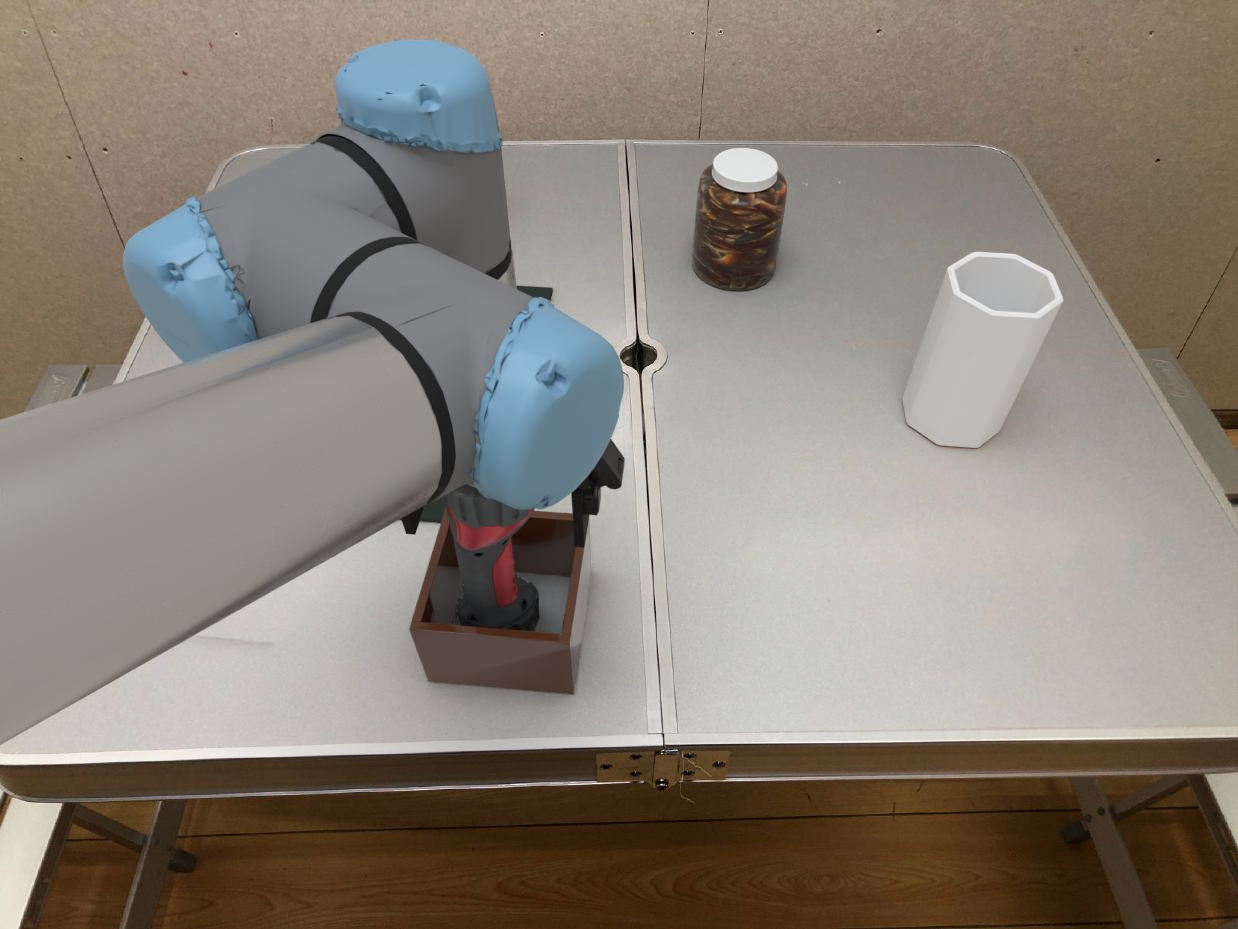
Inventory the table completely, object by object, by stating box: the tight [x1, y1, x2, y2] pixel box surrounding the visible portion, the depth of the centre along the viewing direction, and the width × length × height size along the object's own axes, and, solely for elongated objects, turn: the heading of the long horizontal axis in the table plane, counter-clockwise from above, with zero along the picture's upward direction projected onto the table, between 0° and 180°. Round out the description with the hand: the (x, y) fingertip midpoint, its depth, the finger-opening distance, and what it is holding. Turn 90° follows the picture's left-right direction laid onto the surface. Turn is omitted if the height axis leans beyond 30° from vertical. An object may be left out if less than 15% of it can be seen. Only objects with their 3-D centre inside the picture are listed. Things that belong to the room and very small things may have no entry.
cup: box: [901, 251, 1064, 449], centre depth 89 cm, size 11×11×18 cm
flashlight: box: [442, 484, 540, 632], centre depth 70 cm, size 8×8×23 cm
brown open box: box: [409, 505, 593, 696], centre depth 75 cm, size 13×13×9 cm
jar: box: [691, 147, 788, 292], centre depth 110 cm, size 12×12×15 cm
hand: (498, 527), depth 67 cm, fingers open, 13 cm apart
